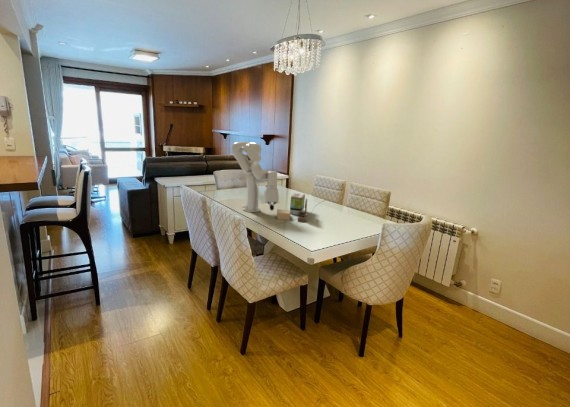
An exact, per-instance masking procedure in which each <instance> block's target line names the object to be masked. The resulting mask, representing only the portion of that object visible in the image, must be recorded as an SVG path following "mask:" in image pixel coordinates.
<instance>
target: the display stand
mask: <svg viewBox="0 0 570 407" xmlns="http://www.w3.org/2000/svg"><path fill="white" fill-rule="evenodd" d="M307 210H308V198H305V201H304V211H303V212H299V215H298V217H297V222H300V223H306V222H307ZM299 216H301V217H299Z"/></svg>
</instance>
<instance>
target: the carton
mask: <svg viewBox="0 0 570 407" xmlns="http://www.w3.org/2000/svg"><path fill="white" fill-rule="evenodd" d="M290 216H291V214H290V209H288V208H287V209H283V208H281V209H280V208H277V210H276V217H277V220H290V218H291V217H290Z"/></svg>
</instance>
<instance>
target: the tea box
mask: <svg viewBox="0 0 570 407" xmlns="http://www.w3.org/2000/svg"><path fill="white" fill-rule="evenodd" d="M305 197H306V194H304V193H295V192H293V194H292V195H291V196H290V206H289V212H290V215H291V214H292V215H298V216H299V212H305V201H306V198H305Z"/></svg>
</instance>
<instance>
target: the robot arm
mask: <svg viewBox="0 0 570 407" xmlns="http://www.w3.org/2000/svg"><path fill="white" fill-rule="evenodd" d="M262 150H263V149H262V147H261V145H260V144H259V143H256V142H250V141H237V142H234V143H233V144H232V146H231V153H232V155H233V157H234V159H235V160H236V162H237V163H238V165H239V167H240V168H241V170H242V171H243V173H245V174H246V178H245V179H246V180H245V181H246V189H247V190H246V192H247V193H246V204H241V207H242V208H244V211H245V212H248V213H257V212H260V211H261V208H259V198H260V195H259V194H260V192H259V191H260V189H259V187H258V185H260V184H264V183H265V182H267V183H266V185H265V186H264V187H265V188H266V189H265V195H264V196H265V197H264V198H265V199H264V200H265V201H264V203H266V204H268V205H269V210H270V211H273V210H275V205H276V204H279V203H280V202H279V198H280V197H279V189H278V172H277V171H276V170H275V171H274V170H269V169H263V168H262V166H261V165H260V162H261V161H262V157H261V155H260V154H261V153H262ZM244 153H246V154H247V155H246V154H244ZM247 156H248V157H247Z"/></svg>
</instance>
